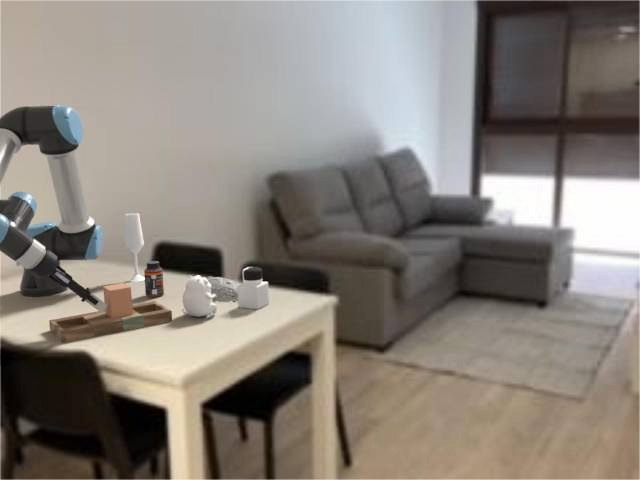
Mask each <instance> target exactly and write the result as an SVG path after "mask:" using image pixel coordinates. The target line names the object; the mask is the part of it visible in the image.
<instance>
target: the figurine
mask: <svg viewBox="0 0 640 480" xmlns="http://www.w3.org/2000/svg"><path fill="white" fill-rule="evenodd" d="M207 278H208V277H205V276H204V277H203V276H201V275H199V274H197V275H195V276H193V275H189V279H188V280H187V282H186V283H185V290H184V292H183V294H182V304H183V306H182V307H183V309H181V312H182V314H185V315H190V316H192V317H196V318H197V317H198V318H200V317H204V316H208V315H210V314H211V313H212V315H216V313H217V309H218V306H217V304H216V303H213V301H212V299H214V298H215V297H217V296H216V295H215V294H211V284H210V283H209V282H208V280H207ZM184 310H185V311H184Z"/></svg>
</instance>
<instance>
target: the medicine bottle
mask: <svg viewBox="0 0 640 480" xmlns="http://www.w3.org/2000/svg"><path fill="white" fill-rule="evenodd" d="M263 280H264V279H263V269H262V267H258V266H247V267H246V268H243V269H242V283H239V285H238V286H237V289H238V297H237V299H238V302H237V306H238V308H241V309H249V310H250V309H251V310H259V309H261V308H264V307H265V306H267V305H268V304H270V300H269V297H270V296H269V295H270V293H269V281H263Z"/></svg>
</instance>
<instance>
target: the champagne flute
mask: <svg viewBox="0 0 640 480" xmlns="http://www.w3.org/2000/svg"><path fill="white" fill-rule="evenodd" d="M140 216H141V215H140V213H139V212H130V213H126V214H125V218H124V219H125V220H124V222H125V223H124V247H125V248H126V249H127V251H129V252H130V253H132V254H133V264H134V265H133V266H134V267H133V268H134V275H132V276H131V277H129V278H128V279H127V281H128V282H132V283H137V282H143V281H144V282H145V276H142V275H141V274H139V266H138V253H140V251H142V249H143V247H144V245H145V241H144V234H143V230H142V224H141V218H140Z"/></svg>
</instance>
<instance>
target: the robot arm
mask: <svg viewBox="0 0 640 480" xmlns="http://www.w3.org/2000/svg"><path fill="white" fill-rule="evenodd" d="M83 137H84V132H83V125H82V121H81V118H80V116H79V113H78V112H77V111H76V110H75V109H74V108H73V107H71V106H69V105H59V104H58V105H57V104H56V105H43V106H42V105H40V106H35V105H34V106H27V105H26V106H19V107H16V108H13V109H11V110H9V111H8V112H6V113H4V114H3V115H2V116H0V185H1V184H2V182H3V180H4V177H5V175H6V173H7V171H8V168H9V167H10V166H9V165H10V164H11V161H12V159H13V157H14V155H15V154H17V153H18V152H19V151H20V150H21V148H22V147H23V146H27V145H28V146H29V145H31V146H33V145H35V146H36V145H37V146H38V148H39V152H40V153H41V154H42V155H43V156H45V157H46V159H47V163H48V168H49V173H50V176H51V180H52V185H53V189H54V194H55V197H56V202H57V206H58V212H59V216H60V219H61V221H59V223H57V222H56V221H46V222H40V223H35V224H32V225H31V222H32V220H33V218H34V216H35V213H36V210H37V207H38V205H37V200H36V199H35V197H34V196H33V195H31V194H30V193H28V192H24V191H16V192H13V193H12V194H11V195H10V196H8V199H0V252H1V253H2V254H4V255H5V256H7V257H9V258H10V259H11V260H12V261H14V262H16V263H15V265H16V266H17V267H20V266H21V267H22V268H23V272H22V273H23V274H22V277H21V281H20V285H19V292H20V295H23V296H27V297H41V296H51V295H56V294H60V293H62V292H65V291H66V290H68V289H69V290H70V291H71V292H73V293H74V294H75V295H76V296H78V297H80V298H81V300H80V301H81V302H83V303H84V302H86V303H88V304H89V306H92V307H93V308H94V309H95V310H97V312H98V311H100V312H101V313H103V312H104V310H105V309H106V308H107V307H108V305H107V304H106V303H105V302H104V300H102V299H100V298H99V297H98V296H96V295H95V294H94V293H92V291H90V288H89V287H87V288H85V287H84V286H82V285H81V284H80V283H78V282H77V281H75V280H74V279H73V276H72V275H70V274H69V273H67V271H66V270H65V269H63V267H61V261H90V260H96V259H98V258H99V257H100V255H101V253H102V249H103V246H104V245H103V244H104V229H103V227H102V226H101V225H99V224H96V222H95V219H94V218H93V216H91V215H89V213H88V208H87V202H86V197H85V193H84V187H83V182H82V179H81V174H80V169H79V163H78V159H77V155H76V151H77V150H78V148H79V145H80V144H81V142H82V141H83Z"/></svg>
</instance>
